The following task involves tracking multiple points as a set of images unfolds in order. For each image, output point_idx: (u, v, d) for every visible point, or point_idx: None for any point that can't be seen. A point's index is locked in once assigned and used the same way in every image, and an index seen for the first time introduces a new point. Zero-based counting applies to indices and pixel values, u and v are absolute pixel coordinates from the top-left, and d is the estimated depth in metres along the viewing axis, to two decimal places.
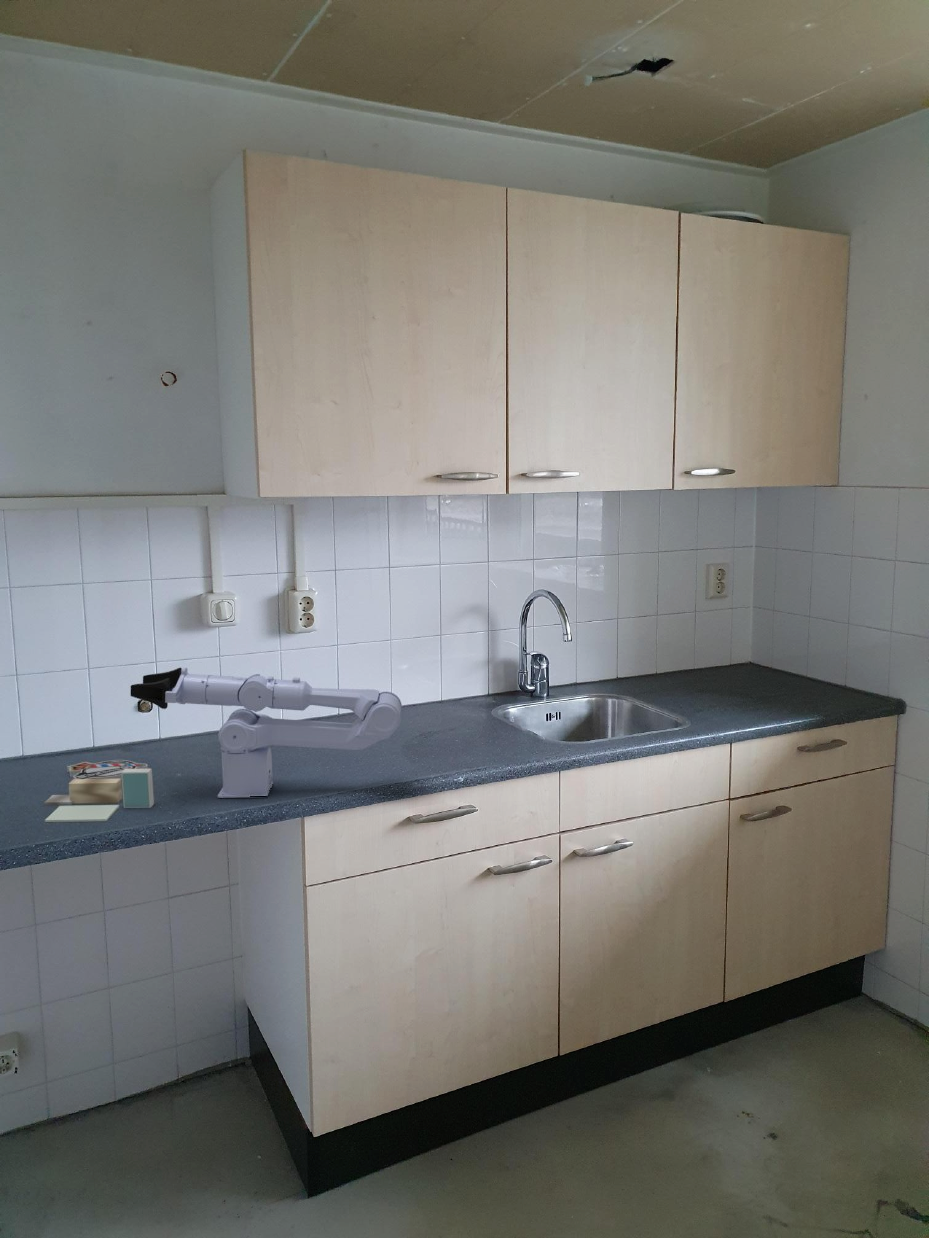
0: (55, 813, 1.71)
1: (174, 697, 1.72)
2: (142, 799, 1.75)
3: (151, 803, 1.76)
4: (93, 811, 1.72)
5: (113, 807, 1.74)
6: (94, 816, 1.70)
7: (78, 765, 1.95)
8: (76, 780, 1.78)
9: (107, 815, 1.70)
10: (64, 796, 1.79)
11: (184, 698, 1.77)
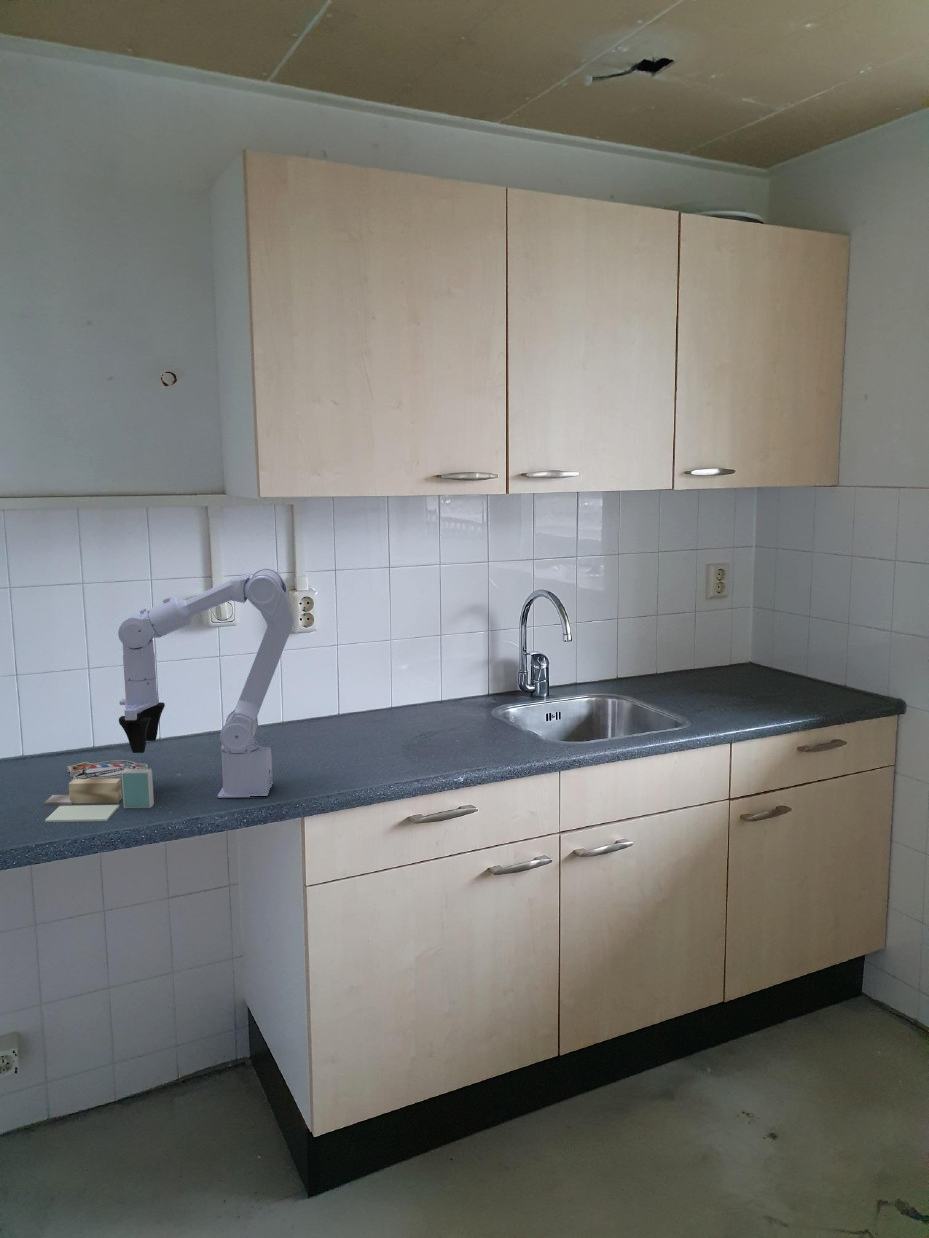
0: (55, 813, 1.71)
1: (129, 711, 1.71)
2: (142, 799, 1.75)
3: (151, 803, 1.76)
4: (93, 811, 1.72)
5: (113, 807, 1.74)
6: (94, 816, 1.70)
7: (78, 765, 1.95)
8: (76, 780, 1.78)
9: (107, 815, 1.70)
10: (64, 796, 1.79)
11: (143, 701, 1.76)
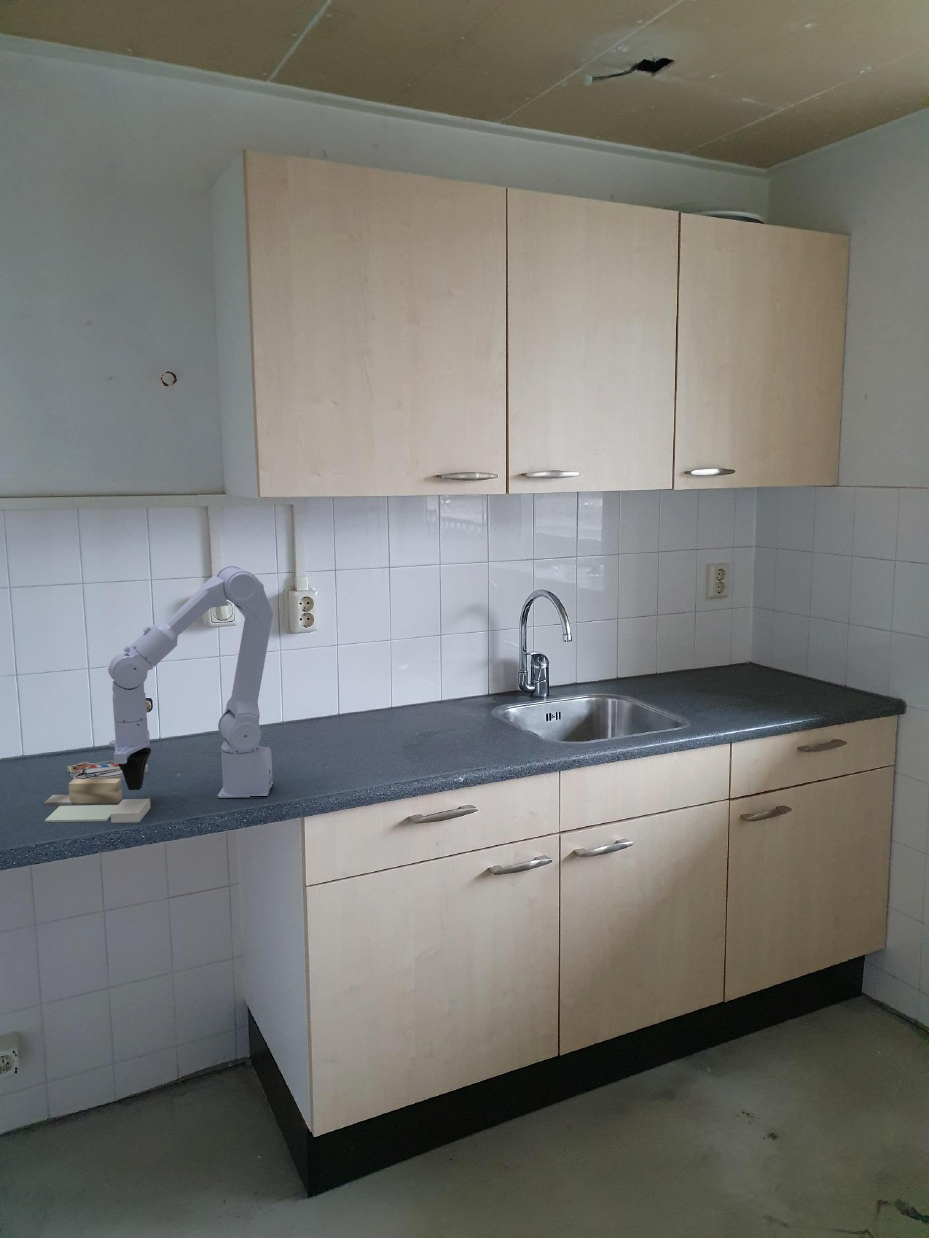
0: (55, 813, 1.71)
1: (118, 754, 1.65)
2: None
3: (149, 807, 1.74)
4: (93, 811, 1.72)
5: (113, 807, 1.74)
6: (94, 816, 1.70)
7: (78, 765, 1.95)
8: (76, 780, 1.78)
9: (107, 815, 1.70)
10: (64, 796, 1.79)
11: (134, 743, 1.70)
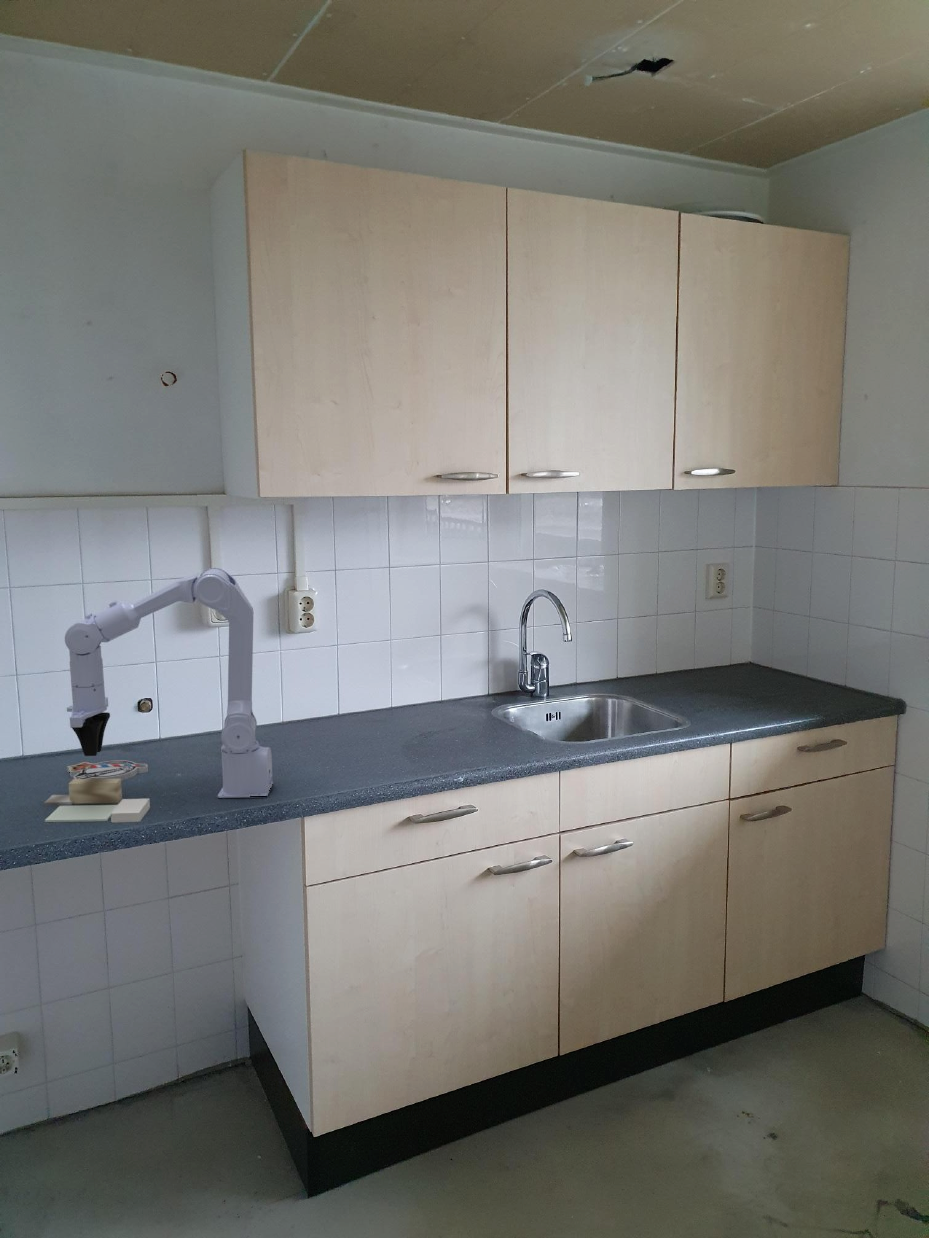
0: (55, 813, 1.71)
1: (74, 718, 1.68)
2: None
3: (149, 806, 1.75)
4: (93, 811, 1.72)
5: (113, 807, 1.74)
6: (94, 816, 1.70)
7: (78, 765, 1.95)
8: (76, 780, 1.78)
9: (107, 815, 1.70)
10: (64, 796, 1.79)
11: (90, 708, 1.73)
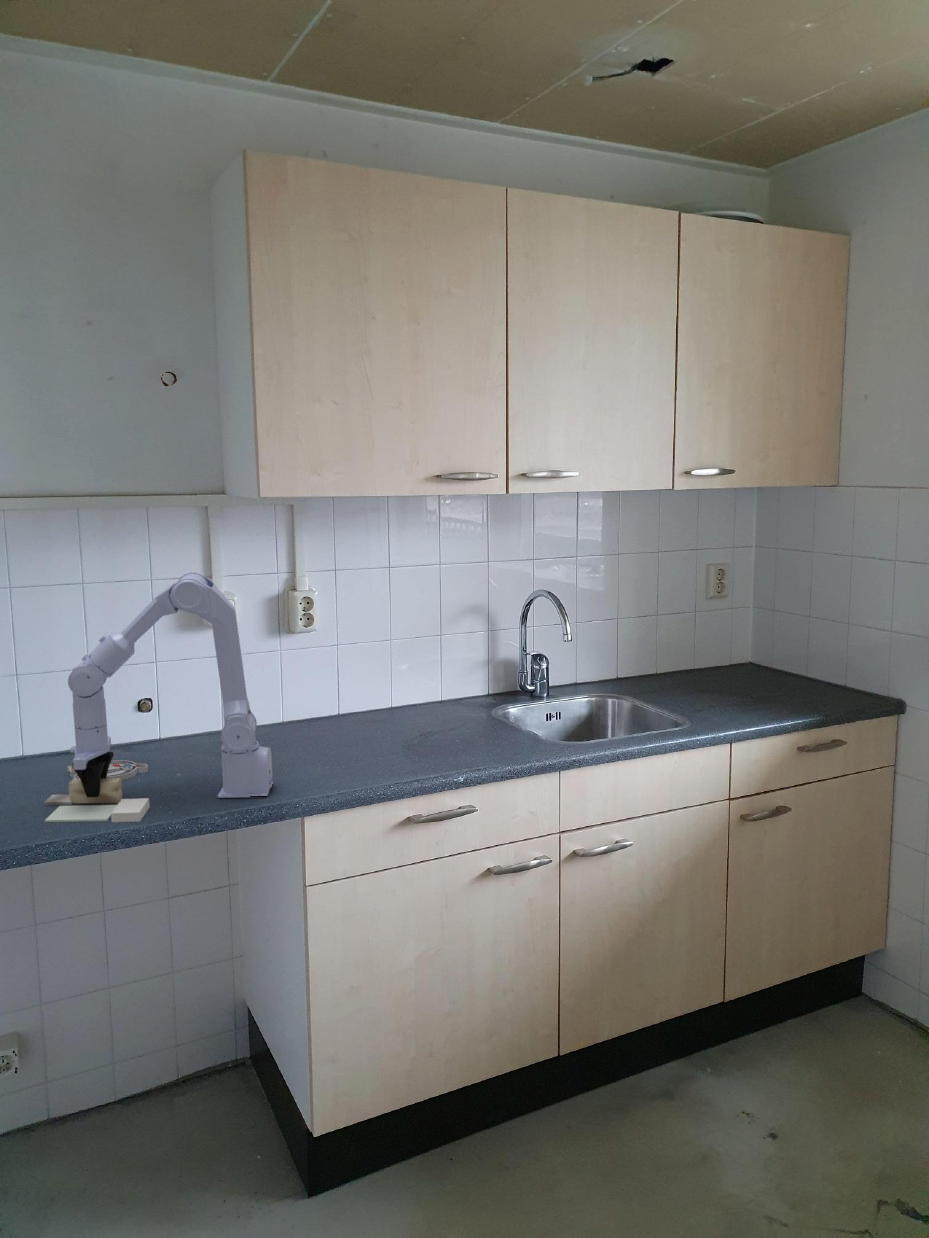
0: (55, 813, 1.71)
1: (77, 760, 1.70)
2: None
3: (148, 806, 1.75)
4: (93, 811, 1.72)
5: (113, 807, 1.74)
6: (94, 816, 1.70)
7: None
8: (76, 780, 1.78)
9: (107, 815, 1.70)
10: (63, 796, 1.79)
11: (93, 749, 1.74)
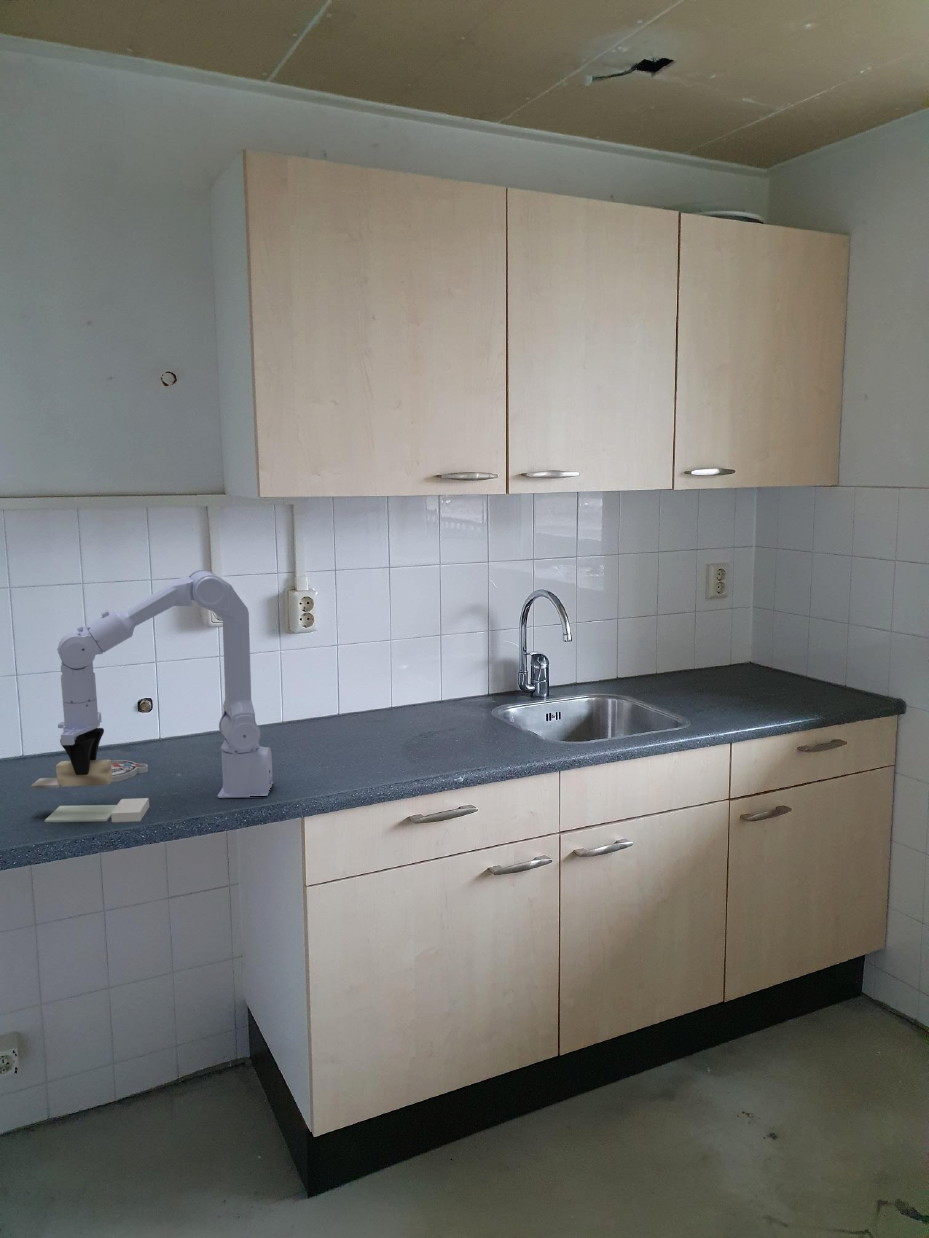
0: (55, 813, 1.71)
1: (65, 735, 1.62)
2: None
3: (148, 806, 1.75)
4: (93, 811, 1.72)
5: (113, 807, 1.74)
6: (94, 816, 1.70)
7: None
8: (64, 762, 1.70)
9: (107, 815, 1.70)
10: (51, 779, 1.72)
11: (83, 724, 1.66)
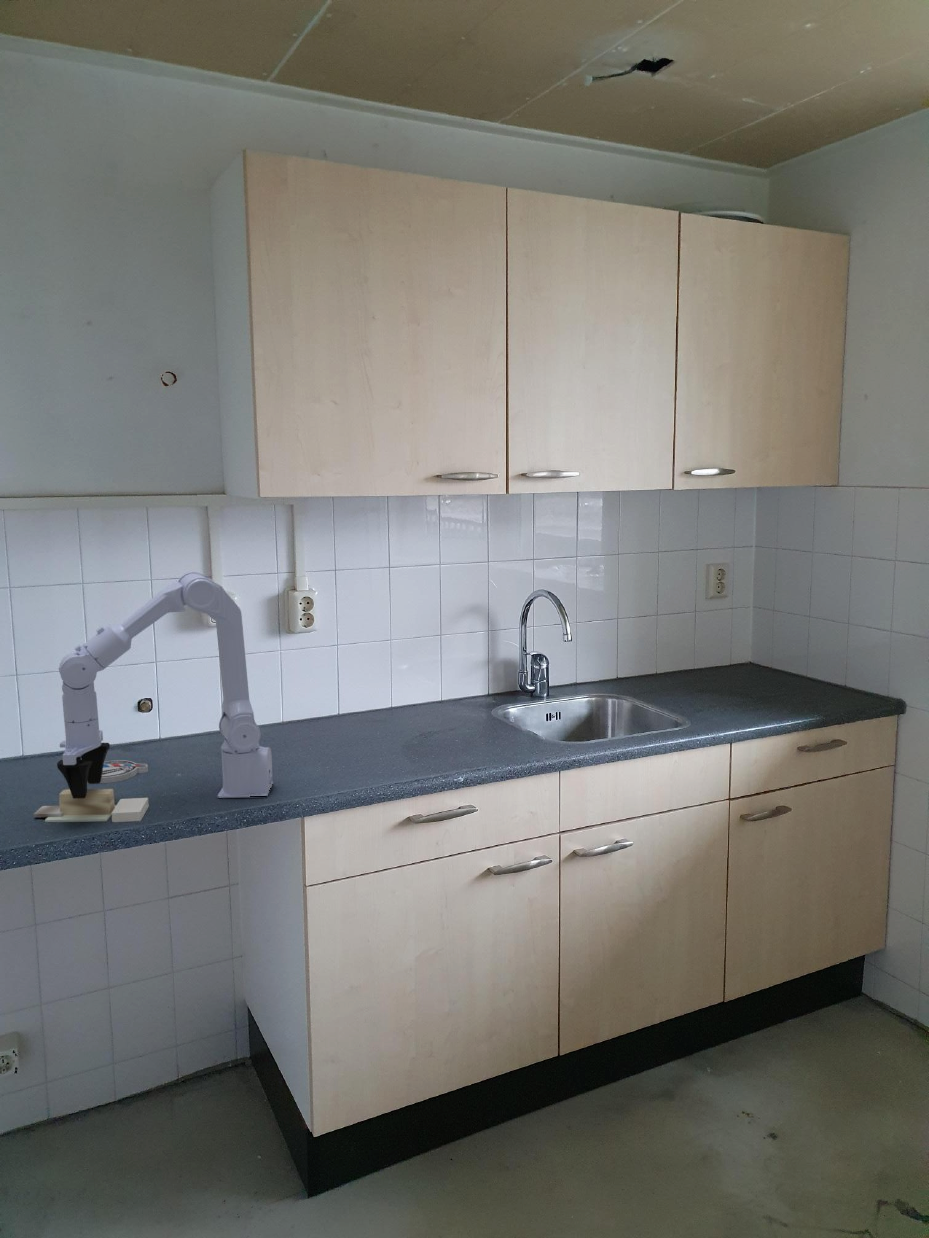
0: None
1: (67, 755, 1.62)
2: None
3: (147, 805, 1.75)
4: None
5: None
6: (94, 816, 1.70)
7: None
8: (67, 790, 1.71)
9: (107, 815, 1.70)
10: (54, 807, 1.72)
11: (84, 744, 1.67)
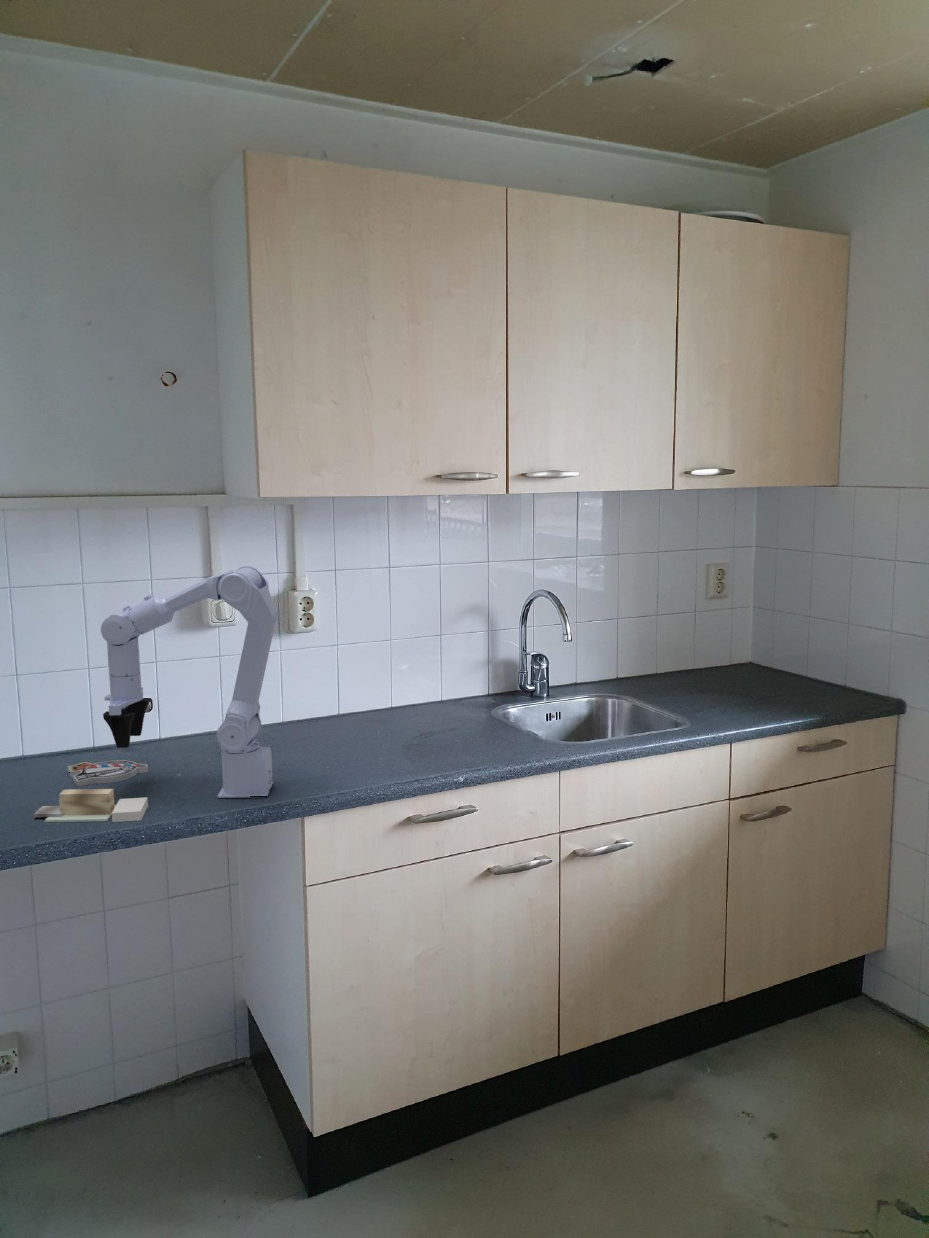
0: None
1: (113, 706, 1.74)
2: None
3: (147, 805, 1.75)
4: None
5: None
6: (94, 816, 1.70)
7: (78, 765, 1.95)
8: (67, 790, 1.71)
9: (107, 815, 1.70)
10: (54, 807, 1.72)
11: (128, 697, 1.79)
